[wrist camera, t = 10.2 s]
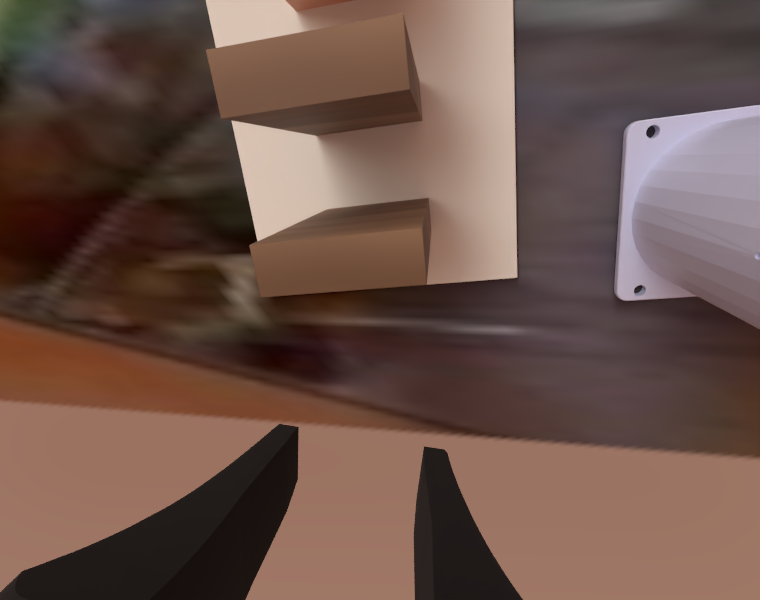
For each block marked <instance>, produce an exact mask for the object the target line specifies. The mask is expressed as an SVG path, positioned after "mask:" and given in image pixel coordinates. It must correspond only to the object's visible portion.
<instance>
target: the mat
mask: <svg viewBox="0 0 760 600" xmlns="http://www.w3.org/2000/svg"><path fill="white" fill-rule="evenodd" d="M206 4H207V8H208V13H209V18H210V22H211V27H212V31H213V36H214V41H215V45H216V48H219V47H224V46H230V45H235V44H241V43H246V42H251V41H257V40H262V39H267V38H273V37H278V36H283V35H289V34H294V33H299V32H305V31H310V30H316V29H321V28H326V27H332V26H337V25H342V24H348V23H353V22H358V21H364V20H369V19H374V18H380V17H385V16H391V15H396V14H401V13H403V15H404V19H405V23H406V28H407V32H408V36H409V40H410V44H411V49H412V53H413V57H414V61H415V65H416V69H417V74H418V78H419V83H420V96H421V108H422V120H423V121H417V122H410V123H403V124H396V125H389V126H382V127H375V128H368V129H361V130H354V131H347V132H340V133H333V134H326V135H319V136H314V135H309V134H303V133H298V132H292V131H287V130H281V129H276V128H270V127H265V126H259V125H254V124H248V123H243V122H237V121H232V124H233V129H234V134H235V138H236V143H237V148H238V152H239V157H240V162H241V166H242V171H243V176H244V180H245V185H246V190H247V194H248V199H249V203H250V208H251V213H252V217H253V222H254V227H255V231H256V236H257V241H260V240H262V239H264V238H266V237H268V236H270V235H273V234H275V233H277V232H279V231H281V230H283V229H286V228H288V227H290V226H292V225H294V224H296V223H299V222H301V221H303V220H305V219H307V218H309V217H311V216H314V215H316V214H318V213H320V212H322V211H324V210H327V209H332V208H341V207H350V206H359V205H368V204H377V203H386V202H395V201H404V200H413V199H422V198H429V207H430V220H431V242H430V254H429V265H428V277H427V285H429V284H442V283H455V282H468V281H481V280H494V279H507V278H517V225H516V161H515V96H514V31H513V0H354V1H348V2H343V3H338V4H333V5H327V6H322V7H317V8H311V9H306V10H301V11H295V10H294V9H293V8H292V7H291V6H290V4H289V3H288V2H287V1H286V0H206Z"/></svg>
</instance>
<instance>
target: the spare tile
mask: <svg viewBox="0 0 760 600" xmlns="http://www.w3.org/2000/svg"><path fill="white" fill-rule="evenodd" d="M286 1H287V2H288V3H289V4H290V6H291V7H292V8H293V9H294V10H295V11H301V10H306V9H311V8H317V7H322V6H327V5H333V4H338V3H343V2H348V1H354V0H286Z"/></svg>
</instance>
